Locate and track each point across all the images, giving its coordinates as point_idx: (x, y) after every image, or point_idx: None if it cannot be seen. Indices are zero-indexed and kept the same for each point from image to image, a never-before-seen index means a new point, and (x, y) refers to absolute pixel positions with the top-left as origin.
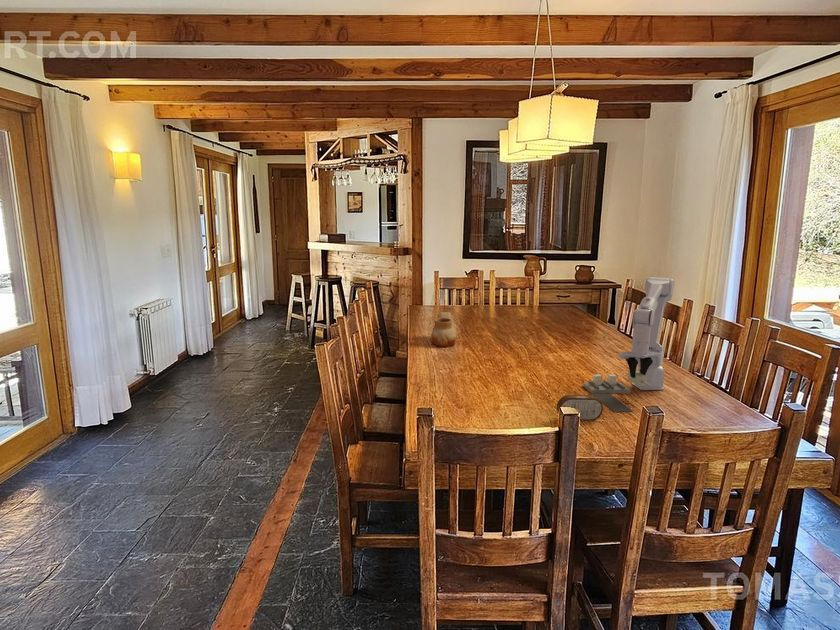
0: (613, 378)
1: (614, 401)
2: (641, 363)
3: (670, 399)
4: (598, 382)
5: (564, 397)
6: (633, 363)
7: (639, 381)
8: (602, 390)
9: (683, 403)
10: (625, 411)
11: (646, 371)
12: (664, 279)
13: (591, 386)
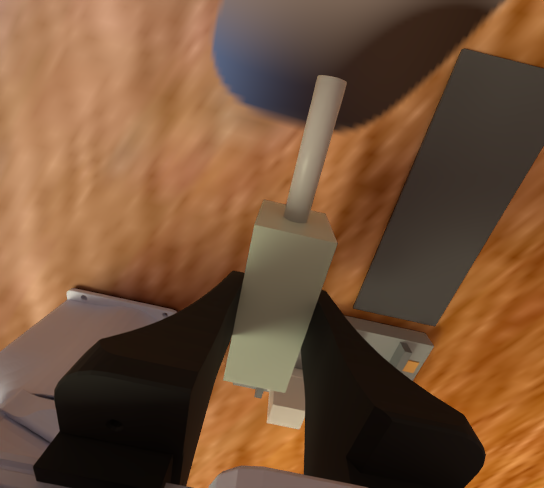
0: (288, 395)
1: (423, 222)
2: (204, 411)
3: (105, 176)
4: None
5: None
6: (429, 402)
7: (320, 224)
8: (385, 333)
9: (65, 101)
10: (511, 61)
11: (209, 293)
12: None
13: None
